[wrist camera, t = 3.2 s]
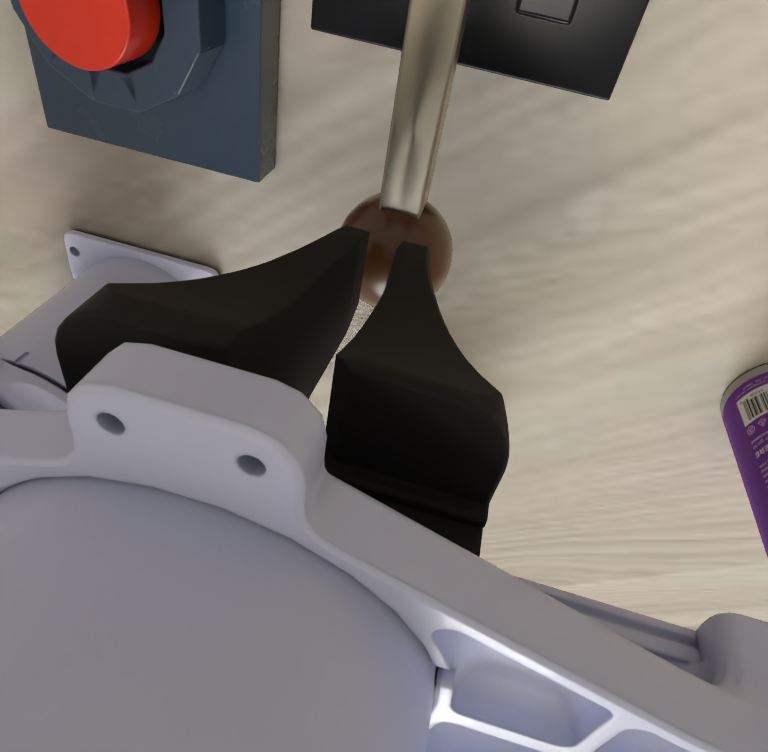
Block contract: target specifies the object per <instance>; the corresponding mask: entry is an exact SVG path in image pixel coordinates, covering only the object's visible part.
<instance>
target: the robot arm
mask: <svg viewBox="0 0 768 752" xmlns="http://www.w3.org/2000/svg"><path fill="white" fill-rule="evenodd" d="M369 235H370V232H369V231H365V230H362V229H358V228H354V227H350V226H343V227H341V228H339V229H337V230H335V231H333V232H331V233H329V234H327V235H326V236H324V237H322V238H320V239H318V240H316V241H314V242H312V243H310V244H308V245H306V246H304V247H302V248H300V249H297V250H295V251H293V252H290V253H288V254H286V255H283V256H281V257H278V258H276V259H274V260H271V261H269V262H266V263H263V264H260V265H257V266H254V267H250V268H247V269H243V270H240V271H236V272H232V273H226V274H221V275H219V274H218V272H217V271H216V270H214V269H213V268H210V267H207V266H203V265H200V264H196V263H192V262H189V261H185V260H181V259H178V258H174V257H170V256H167V255H163V254H160V253H156V252H152V251H149V250H145V249H141V248H138V247H134V246H130V245H127V244H123V243H120V242H116V241H112V240H109V239H105V238H101V237H98V236H94V235H90V234H87V233H83V232H80V231H76V230H70V231H68V232H67V233H65V235H64V243H65V247H66V251H67V255H68V259H69V263H70V267H71V272H72V276H73V281H72V282H71V283H70V284H68V285H67V286H66V287H64V288H63V289H62V290H60V291H59V292H58V293H57V294H55V295H54V296H53V297H51V298H50V299H49V300H47V301H46V302H45V303H44V304H42V305H41V306H40V307H38V308H37V309H36V310H34V311H33V312H32V313H31V314H29V315H28V316H27V317H25V318H24V319H23V320H21V321H20V322H19V323H18V324H16V325H15V326H14V327H12V328H11V329H10V330H8V331H7V332H6V333H5V334H3V335H2V336H1V337H0V752H768V622H764V621H761V620H758V619H754V618H751V617H748V616H744V615H741V614H735V613H719V614H716V615H714V616H712V617H710V618H708V619H707V620H706V621H705V622H704V623H702V624H701V626H700V627H699V628H698V629H697V631H694V630H691V629H688V628H685V627H681V626H678V625H675V624H671V623H668V622H665V621H661V620H658V619H655V618H652V617H648V616H645V615H642V614H638V613H635V612H632V611H628V610H625V609H622V608H619V607H615V606H612V605H609V604H605V603H602V602H599V601H595V600H592V599H589V598H586V597H582V596H579V595H576V594H572V593H569V592H566V591H562V590H559V589H556V588H553V587H549V586H546V585H543V584H539V583H536V582H533V581H529V580H526V579H523V578H520V577H516V576H513V575H511V574H509V573H507V572H505V571H504V570H502V569H500V568H498V567H496V566H495V565H493V564H491V563H489V562H487V561H486V560H484V559H482V558H480V557H479V556H480V547H481V539H482V531H483V528H484V526H485V524H486V521H487V517H488V508H489V503H490V500H491V498H492V496H493V494H494V492H495V490H496V488H497V486H498V484H499V482H500V480H501V478H502V476H503V474H504V472H505V469H506V466H507V462H508V458H509V432H508V423H507V416H506V410H505V405H504V400H503V396H502V394H501V393H500V392H499V391H498V390H497V389H496V388H495V387H494V386H492V385H491V384H490V383H489V382H488V381H487V380H486V379H485V378H483V377H482V376H481V375H480V374H479V373H478V372H477V371H476V370H475V368H474V367H473V366H472V365H471V364H470V363H469V362H468V360H467V359H466V358H465V357H464V355H463V354H462V352H461V351H460V350H459V348H458V347H457V345H456V344H455V342H454V340H453V338H452V337H451V335H450V333H449V331H448V329H447V327H446V325H445V323H444V320H443V318H442V315H441V313H440V310H439V307H438V304H437V301H436V297H435V294H434V289H433V284H432V280H431V273H430V256H431V251H430V250H429V248H428V247H426V246H422V245H418V244H414V243H411V242H407V241H403V242H402V243H401V244H400V245H399V247H398V248H397V250H396V252H395V256H394V259H393V262H392V266H391V269H390V273H389V276H388V279H387V283H386V286H385V289H384V292H383V294H382V296H381V298H380V300H379V301H378V303H377V305H376V307H375V308H374V310H373V312H372V313H371V315H370V316H369V318H368V319H367V321H366V322H365V324H364V325H363V327H362V328H361V329H360V330H359V332H358V333H357V334H356V336H355V337H354V338H353V339H352V340H351V341H350V342H349V343H348V344H347V345H346V346H345V347H344V348H343V349H342V350H341V351H340V352H339V353H338V354H336V359H335V367H334V374H333V381H332V389H331V396H330V403H329V410H328V418H327V425H326V430H325V425H324V421H323V416H322V414H321V413H320V412H319V411H318V410H317V408H316V407H315V406H314V405H313V404H312V403H311V402H310V401H309V400H308V399H309V397H310V395H311V393H312V392H313V390H314V388H315V386H316V385H317V383H318V381H319V380H320V378H321V376H322V374H323V373H324V371H325V369H326V368H327V366H328V364H329V362H330V361H331V359H332V357H333V356H334V354H335V352H336V350H337V349H338V347H339V345H340V343H341V342H342V340H343V338H344V336H345V335H346V333H347V330H348V328H349V326H350V323H351V321H352V318H353V316H354V313H355V311H356V308H357V305H358V303H359V298H360V292H361V285H362V279H363V273H364V266H365V260H366V254H367V248H368V241H369ZM76 248H77V249H78V251H79V252H78V251H77V250H76Z"/></svg>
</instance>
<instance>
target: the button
mask: <svg viewBox="0 0 768 752" xmlns="http://www.w3.org/2000/svg"><path fill="white" fill-rule="evenodd" d="M19 2H20V5H21V7H22V9H23V12H24V14H25V16H26V18H27V20H28V21H29V23H30V25H31V26H32V28H33V29H34V31H35V32H36V34H37V35H38V36H39V38H40V39H41V40H42V41H43V42H44V44H45V45H46V46H47V47H48V48H49V49H50V50H51V51H52V52H54V53H55V54H56V55H57V56H58V57H60V58H61V59H62V60H64V61H66V62H67V63H69V64H71V65H73V66H75V67H78V68H81V69H84V70H89V71H102V70H106V69H109V68H112V67H114V66H117V65H120V64H123V63H126V62H128V61H131V60H134V59H137V58H139V57H141V56H143V55H144V54H146V53H147V52H148V51H149V50H150V48H151V47H152V46H153V44H154V42H155V40H156V38H157V35H158V32H159V27H160V17H161V16H160V3H159V0H19Z"/></svg>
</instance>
